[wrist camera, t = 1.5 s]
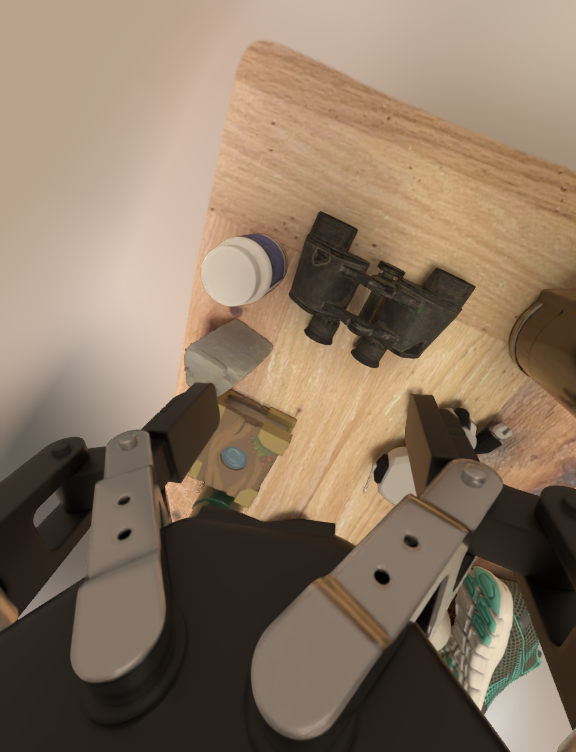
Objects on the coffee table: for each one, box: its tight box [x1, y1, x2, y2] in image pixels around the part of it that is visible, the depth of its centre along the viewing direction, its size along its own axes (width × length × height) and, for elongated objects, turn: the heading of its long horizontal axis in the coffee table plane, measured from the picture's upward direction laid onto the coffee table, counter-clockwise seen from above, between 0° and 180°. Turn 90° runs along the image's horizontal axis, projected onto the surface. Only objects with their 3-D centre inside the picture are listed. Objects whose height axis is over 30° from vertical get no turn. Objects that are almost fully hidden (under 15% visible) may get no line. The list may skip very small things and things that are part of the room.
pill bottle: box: [201, 234, 288, 306], centre depth 29 cm, size 6×6×10 cm
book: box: [189, 389, 297, 509], centre depth 42 cm, size 15×11×5 cm
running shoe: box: [438, 566, 541, 715], centre depth 46 cm, size 10×27×12 cm
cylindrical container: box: [188, 484, 244, 518], centre depth 47 cm, size 7×7×8 cm
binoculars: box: [289, 211, 476, 368], centre depth 30 cm, size 11×16×6 cm
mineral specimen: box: [184, 319, 273, 397], centre depth 35 cm, size 7×9×8 cm
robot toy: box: [364, 408, 512, 505], centre depth 37 cm, size 12×4×15 cm
